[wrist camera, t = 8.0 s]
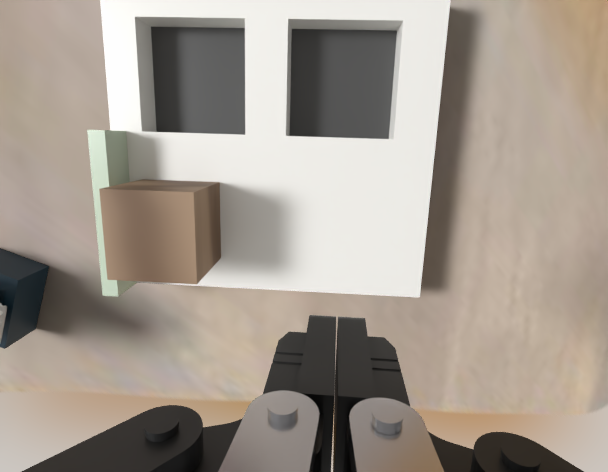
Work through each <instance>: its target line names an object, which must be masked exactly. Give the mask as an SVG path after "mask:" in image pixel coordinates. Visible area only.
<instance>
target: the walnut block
mask: <svg viewBox="0 0 608 472" xmlns="http://www.w3.org/2000/svg"><path fill="white" fill-rule="evenodd" d="M99 192H100V203H101V214H102V225H103V236H104V247H105V258H106V269H107V280H121V281H141V282H161V283H181V284H198V283H199V282H200V280H201V279H202V278H203V277H204V276H205V275H206V274H207V273H208V272H209V271H210V270H211V268H212V267H213V266H214V265H215V264H216V263H217V262H218V261H219V260H220V259H221V227H220V182H204V181H176V180H148V179H142V180H137V181H132V182H128V183H123V184H119V185H114V186H110V187H105V188H101V189H99Z"/></svg>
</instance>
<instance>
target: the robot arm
mask: <svg viewBox="0 0 608 472" xmlns="http://www.w3.org/2000/svg"><path fill="white" fill-rule="evenodd" d="M335 339H336V317H332V316H316V315H310V316H309V322H308V328H307V333H301V332H288V333H287V334H286V335H285V336H284V337H282V338H281V339H280V340H279V342H278V345H277V348H276V352H275V355H274V358H273V363H272V365H271V369H270V372H269V375H268V379H267V382H266V385H265V389H264V392H263V395H261V396H259V397H257V398H256V399H255V400H253V401H252V402H251V404H250V405H249V406H248V408H247V410H246V412H245V415H244V417H243V418H242V419H241V420H238V421H235V422H232V423H228V424H223V425H217V426H211V427H203V423H202V420H201V417H200V416H199V414H198V413H197V412H195V411H194V410H192V409H190V408H187V407H184V406H177V405H169V406H162V407H156V408H153V409H150V410H148V411H145V412H143V413H141V414H139V415H137V416H135V417H133V418H131V419H129V420H127V421H125V422H123V423H120V424H118V425H116V426H114V427H112V428H110V429H108V430H106V431H104V432H102V433H100V434H98V435H96V436H94V437H92V438H90V439H88V440H86V441H83V442H81V443H79V444H77V445H76V446H73V447H71V448H69V449H67V450H65V451H63V452H61V453H59V454H57V455H55V456H53V457H51V458H49V459H47V460H44V461H43V462H40V463H39V464H36V465H34V466H32V467H30V468H28V469H26V470H24V471H22V472H331V454H332V434H333V433H332V432H333V413H334V455H333V472H583V471H582V470H580V469H579V468H577V467H575V466H574V465H572V464H570V463H569V462H567V461H565V460H564V459H562V458H560V457H559V456H557V455H556V454H554V453H553V452H551V451H549V450H548V449H546V448H544V447H543V446H541V445H540V444H538V443H536V442H534V441H532V440H530V439H528V438H525V437H522V436H519V435H516V434H511V433H506V432H491V433H487V434H485V435H482V436H481V437H480V438H478V439H477V441H476V442H475V445H474V450H473V449H469V448H466V447H463V446H460V445H457V444H453V443H450V442H447V441H445V440H442V439H440V438H438V437H436V436H434V435H433V434H431V433H429V432H428V431H427V428H426V426H425V423H424V421H423V419H422V417H421V416H420V415H419V414H418V413H417V412H416V411H415V410H414V409H413V408H411V407H410V404H409V400H408V396H407V392H406V388H405V384H404V381H403V377H402V373H401V369H400V365H399V362H398V358H397V354H396V350H395V348H394V347H393V346H392V345H391V344H390V343H389V342H388V341H387V340H386V339H385V338H382V337H368V336H367V329H366V322H365V318H350V317H338V330H337V350H336V370H335ZM334 390H335V402H334Z"/></svg>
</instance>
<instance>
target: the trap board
mask: <svg viewBox="0 0 608 472" xmlns="http://www.w3.org/2000/svg"><path fill="white" fill-rule="evenodd" d="M450 1H451V0H100V3H101V16H102V29H103V41H104V54H105V66H106V79H107V92H108V104H109V117H110V129H111V130H87V131H88V142H89V153H90V164H91V175H92V186H93V196H94V207H95V218H96V229H97V240H98V251H99V262H100V272H101V283H102V294H103V296H120V295H121V294H122V293H124V292H125V291H126V290H128V289H129V288H130V287H132V286H133V285H134V284H136V283H154V284H173V285H192V286H211V287H230V288H249V289H268V290H287V291H306V292H326V293H345V294H364V295H383V296H402V297H420V290H421V280H422V271H423V261H424V252H425V242H426V232H427V223H428V213H429V203H430V194H431V184H432V174H433V165H434V155H435V146H436V136H437V126H438V117H439V107H440V97H441V88H442V78H443V68H444V59H445V49H446V40H447V30H448V20H449V11H450ZM142 179H148V180H176V181H204V182H220V227H221V259H220V260H219V261H218V262H217V263H216V264H215V265H214V266H213V267H212V268H211V270H210V271H209V272H208V273H207V274H206V275H205V276H204V277H203V278H202V279H201V280H200V282H199V283H198V284H181V283H161V282H141V281H121V280H107V269H106V258H105V247H104V236H103V225H102V214H101V203H100V192H99V189H101V188H105V187H110V186H114V185H119V184H123V183H128V182H132V181H137V180H142Z"/></svg>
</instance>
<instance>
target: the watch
mask: <svg viewBox="0 0 608 472" xmlns="http://www.w3.org/2000/svg"><path fill="white" fill-rule="evenodd" d="M48 269H49V266H47V265H45V264H42V263H39V262H36V261H34V260H31V259H28V258H25V257H22V256H20V255H17V254H14V253H11V252H9V251H6V250H3V249H0V347H2V348H4V349H5V348H7V347H8V346H10V345H11V344H13V343H14V342H16V341H18V340H19V339H21V338H22V337H24V336H25V335H27V334H28V333H30V332H31V331H33V330H35V329H36V325H37V320H38V316H39V311H40V306H41V302H42V297H43V292H44V288H45V283H46V278H47V274H48Z"/></svg>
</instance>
